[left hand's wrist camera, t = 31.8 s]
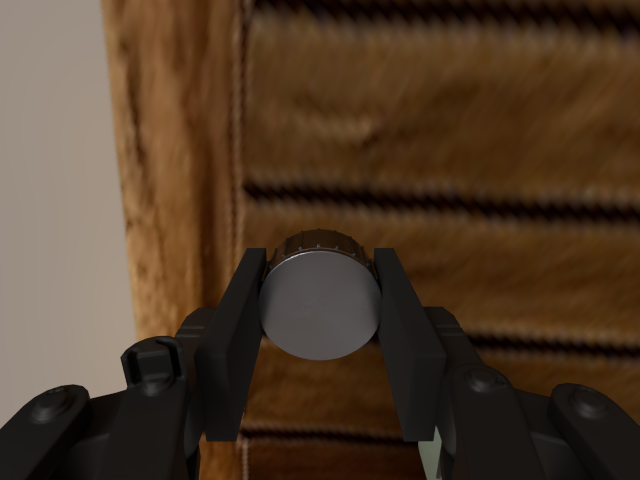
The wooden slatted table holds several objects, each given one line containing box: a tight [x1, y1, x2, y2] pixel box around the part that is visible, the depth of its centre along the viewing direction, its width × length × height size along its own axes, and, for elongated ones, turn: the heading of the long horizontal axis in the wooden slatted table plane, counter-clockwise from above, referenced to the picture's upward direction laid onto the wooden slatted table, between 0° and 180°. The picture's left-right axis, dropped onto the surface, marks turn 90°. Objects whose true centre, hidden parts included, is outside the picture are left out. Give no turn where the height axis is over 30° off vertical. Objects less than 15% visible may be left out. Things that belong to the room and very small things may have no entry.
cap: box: [258, 229, 382, 360], centre depth 14 cm, size 4×5×2 cm
